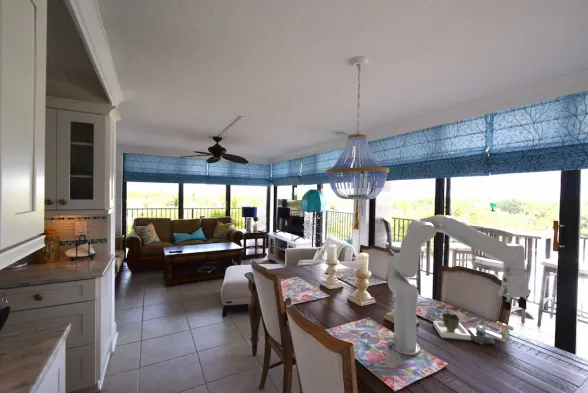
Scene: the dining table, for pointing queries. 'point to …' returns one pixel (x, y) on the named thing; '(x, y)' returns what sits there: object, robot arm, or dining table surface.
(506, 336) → the crank
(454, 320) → the cup
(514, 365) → the dining table surface
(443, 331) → the tray
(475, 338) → the crank base
